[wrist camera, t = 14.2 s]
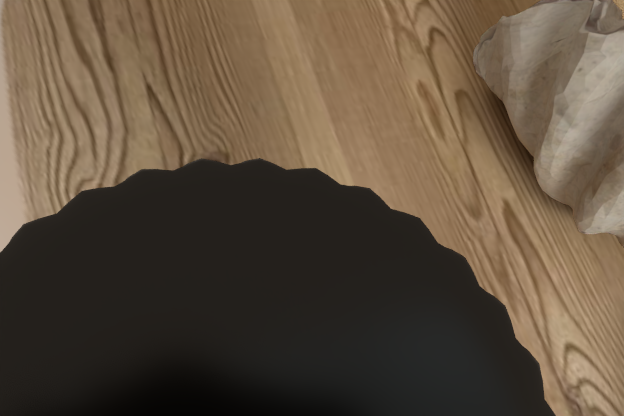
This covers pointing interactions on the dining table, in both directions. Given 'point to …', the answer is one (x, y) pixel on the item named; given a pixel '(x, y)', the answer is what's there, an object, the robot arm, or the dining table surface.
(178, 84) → the dining table surface
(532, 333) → the dining table surface
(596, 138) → the seashell
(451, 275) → the supplement bottle
